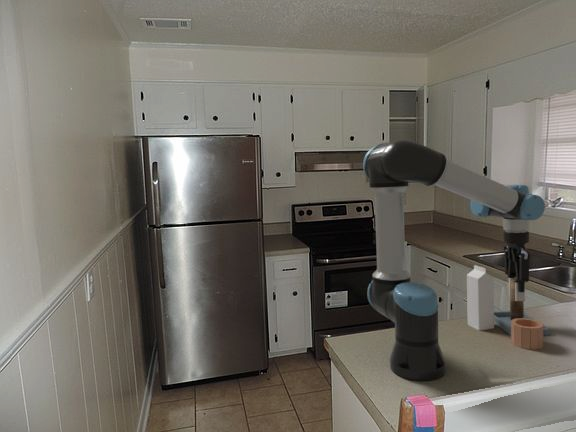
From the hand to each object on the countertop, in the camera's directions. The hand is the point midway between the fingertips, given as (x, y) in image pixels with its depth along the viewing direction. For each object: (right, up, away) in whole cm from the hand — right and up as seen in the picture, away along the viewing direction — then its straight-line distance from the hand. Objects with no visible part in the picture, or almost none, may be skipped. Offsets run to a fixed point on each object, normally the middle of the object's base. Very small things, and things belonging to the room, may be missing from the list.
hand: (516, 298), depth 138 cm
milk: (-11, -11, +2) cm, 16 cm away
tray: (+1, -10, +1) cm, 10 cm away
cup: (-4, -12, -14) cm, 19 cm away
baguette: (+1, -8, +1) cm, 8 cm away
